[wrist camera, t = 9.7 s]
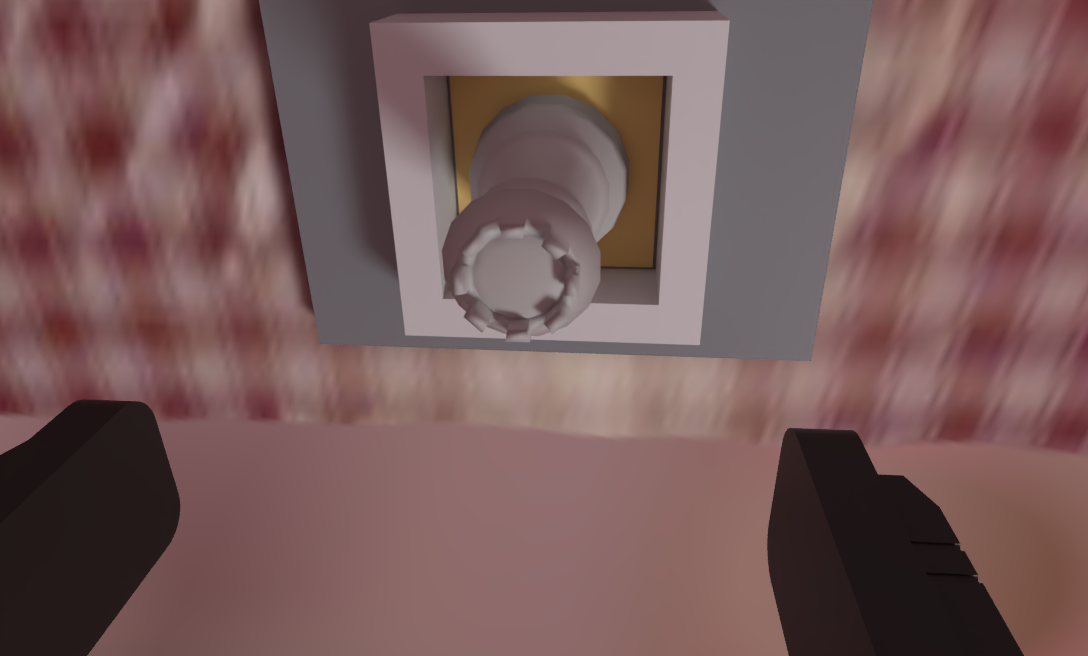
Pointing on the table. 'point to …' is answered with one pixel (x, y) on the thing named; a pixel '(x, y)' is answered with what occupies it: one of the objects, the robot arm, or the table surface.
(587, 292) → the rook chess piece
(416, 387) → the table surface
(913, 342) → the table surface
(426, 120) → the square frame on plate
